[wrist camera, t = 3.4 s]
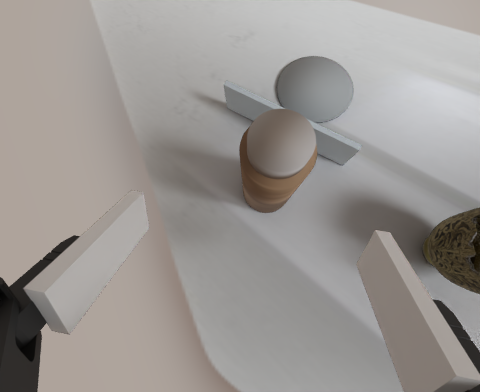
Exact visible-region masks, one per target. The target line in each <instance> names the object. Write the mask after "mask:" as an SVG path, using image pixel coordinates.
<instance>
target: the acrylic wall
mask: <svg viewBox="0 0 480 392" xmlns="http://www.w3.org/2000/svg"><path fill="white" fill-rule="evenodd" d="M224 91H225V97H226V103H227V108H228V109H230V110H232V111H234V112H236V113H238V114H240V115H242V116H244V117H246V118H248V119H250V120H252V121H254V120H255V119H256V118H257V117H258V116H259V115H261V114H262V113H264V112H266V111H269V110H273V109H285V108H283V107H281V106H279V105H277V104H275V103H273V102H271V101H269V100H267V99H265V98H262V97H260V96H258V95H256V94H254V93H252V92H250V91H248V90H246V89H244V88H242V87H239V86H237V85H235V84H233V83H231V82H229V81H227V80H226V82H225V83H224ZM307 120H308V119H307ZM308 121H309V122H310V124H311V125H312V127H313V129H314V131H315V135H316V146H317V153H318V154H320V155H322V156H324V157H326V158H328V159H330V160H332V161H334V162H336V163H338V164H340V165H344V164H345V163H346V162H347V161H348V160H349V159H350V158H352V157H353V156H354V155H355V154H356V153H357V152H358V151H359V150H360V149H361V147H362V145H361V144H359V143H356V142H354V141H352V140H350V139H348V138H346V137H344V136H342V135H340V134H338V133H336V132H333V131H331V130H329V129H327V128H325V127H323V126H321V125H319V124H317V123H315V122H313V121H310V120H308Z"/></svg>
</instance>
